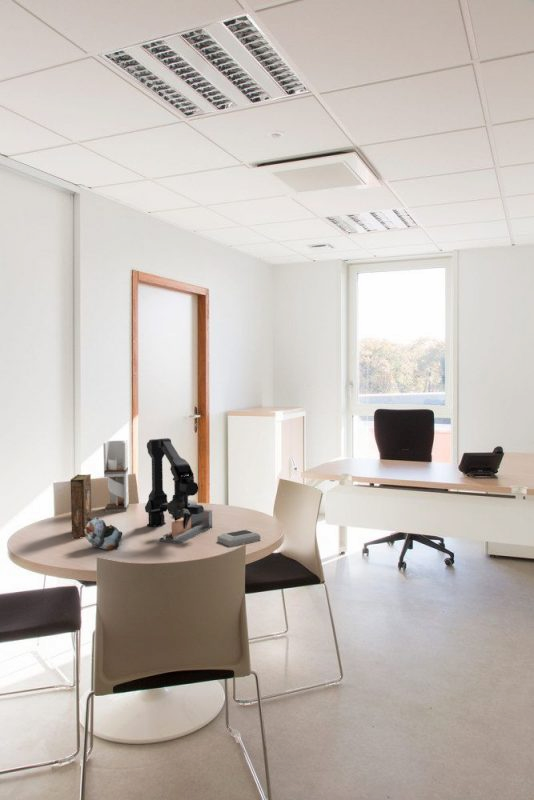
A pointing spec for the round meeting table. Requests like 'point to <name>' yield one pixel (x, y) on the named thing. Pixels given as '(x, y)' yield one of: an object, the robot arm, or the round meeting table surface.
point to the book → (80, 504)
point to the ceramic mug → (189, 505)
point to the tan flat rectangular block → (179, 526)
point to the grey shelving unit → (116, 475)
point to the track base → (192, 527)
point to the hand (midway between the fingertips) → (181, 528)
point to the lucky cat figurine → (102, 534)
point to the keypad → (238, 537)
